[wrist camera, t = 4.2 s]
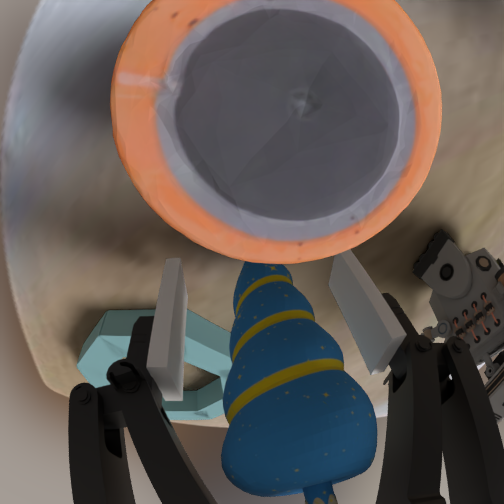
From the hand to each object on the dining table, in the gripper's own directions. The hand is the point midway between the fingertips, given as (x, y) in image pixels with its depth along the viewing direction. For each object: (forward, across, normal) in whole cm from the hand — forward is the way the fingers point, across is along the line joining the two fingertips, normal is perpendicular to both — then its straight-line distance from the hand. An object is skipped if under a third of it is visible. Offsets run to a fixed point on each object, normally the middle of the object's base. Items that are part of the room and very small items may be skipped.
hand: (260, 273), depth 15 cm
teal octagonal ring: (+2, -8, -12) cm, 15 cm away
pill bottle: (+3, -1, +9) cm, 9 cm away
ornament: (+3, 0, 0) cm, 3 cm away
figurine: (+3, +17, -5) cm, 18 cm away
